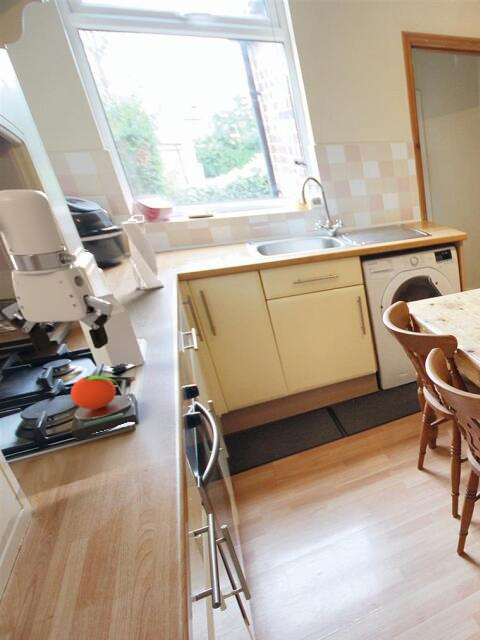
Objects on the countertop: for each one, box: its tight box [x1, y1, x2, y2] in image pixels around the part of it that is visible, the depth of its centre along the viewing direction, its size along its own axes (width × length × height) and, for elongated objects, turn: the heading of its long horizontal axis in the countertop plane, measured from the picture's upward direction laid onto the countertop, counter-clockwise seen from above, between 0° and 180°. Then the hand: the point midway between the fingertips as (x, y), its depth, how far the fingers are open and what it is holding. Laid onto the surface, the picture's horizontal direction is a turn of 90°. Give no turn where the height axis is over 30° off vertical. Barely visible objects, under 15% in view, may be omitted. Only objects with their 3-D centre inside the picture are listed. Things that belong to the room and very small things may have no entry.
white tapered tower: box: [120, 213, 165, 292], centre depth 180 cm, size 8×8×28 cm
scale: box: [70, 392, 140, 439], centre depth 97 cm, size 11×10×3 cm
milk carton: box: [78, 292, 146, 368], centre depth 117 cm, size 7×7×19 cm
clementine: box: [70, 374, 119, 409], centre depth 96 cm, size 8×7×7 cm
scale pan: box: [75, 394, 132, 422], centre depth 97 cm, size 9×9×1 cm
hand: (73, 347), depth 91 cm, fingers open, 9 cm apart
